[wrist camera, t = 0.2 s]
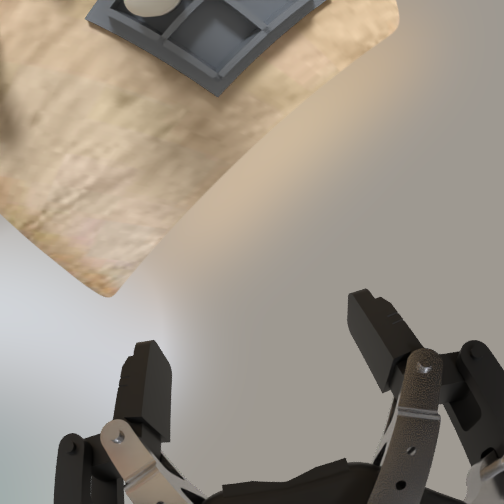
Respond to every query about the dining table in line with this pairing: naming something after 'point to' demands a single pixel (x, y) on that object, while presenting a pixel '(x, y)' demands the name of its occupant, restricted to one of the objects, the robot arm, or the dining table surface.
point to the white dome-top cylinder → (151, 7)
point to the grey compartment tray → (205, 33)
